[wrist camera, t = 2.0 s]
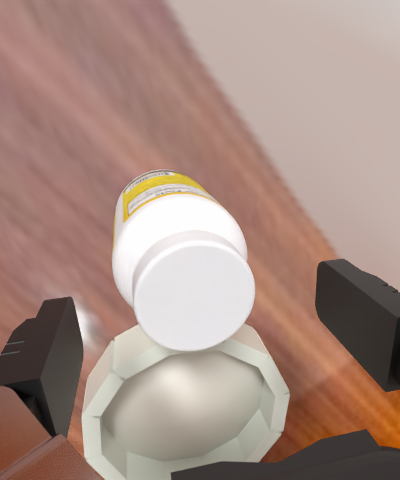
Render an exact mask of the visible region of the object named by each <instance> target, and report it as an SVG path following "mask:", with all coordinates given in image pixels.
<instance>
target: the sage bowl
mask: <svg viewBox="0 0 400 480" xmlns="http://www.w3.org/2000/svg"><path fill="white" fill-rule="evenodd" d="M289 397H290V393H289V389H288V387H287V385H286V383H285V382H284V380H283V378H282V376H281V374H280V372H279V370H278V369H277V367H276V365H275V363H274V361H273V359H272V357H271V356H270V354H269V352H268V351H267V349H266V347H265V346H264V344H263V342H262V340H261V339H260V337H259V335H258V334H257V332H256V330H254V329H253V327H251V326H249V325H247V324H245V323H244V324H243V325H242V326H241V327H240V328H239V329H238V330H237V331H236V332H235V333H234V334H233V335H232V336H231V337H229V338H228V339H227V340H225V341H223V342H222V343H220V344H218V345H215V346H213V347H210V348H207V349H204V350H198V351H177V350H173V349H169V348H166V347H164V346H161V345H160V344H158V343H156V342H155V341H153V340H152V339H151V338H149V337H148V336H147V335H146V334H145V332H144V331H143V330H142V328H141V327H140V325H139V324H138V325H136V326H134V327H132V328H131V329H129V330H127V331H125V332H123V333H121V334H120V335H118V336H116V337H115V341H113V340H111V342H110V344H109V345H108V347H107V348H106V350H105V351H104V353H103V354H102V356H101V358H100V359H99V361H98V362H97V364H96V365H95V367H94V369H93V370H92V372H91V373H90V375H89V376H88V380H87V384H86V391H85V398H84V405H83V411H82V430H83V442H84V455H85V458H87V459H86V461H87V462H88V463H89V464H90V465H91V466H92V467H93V468H94V469H95V470H96V471H97V472H98V473H99V474H100V475H101V476H102V477H103V478H104V479H105V480H171V472H175V471H180V470H184V469H189V468H193V467H198V466H202V465H207V464H211V463H216V462H221V461H231V462H259V461H260V460H261V459H262V458H263V456H264V455H265V454H266V453H267V451H268V450H269V449H270V448H271V447H272V445H273V444H274V443H275V442H276V440H277V439H278V438H279V437H280V436H281V434H282V433H281V431H283V430H284V424H285V419H286V413H287V408H288V402H289Z"/></svg>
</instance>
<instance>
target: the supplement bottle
mask: <svg viewBox="0 0 400 480" xmlns="http://www.w3.org/2000/svg"><path fill="white" fill-rule="evenodd" d="M112 269H113V276H114V280H115V283H116V286H117V288H118V290H119V292H120V294H121V295H122V297H123V298H124V299H125V301H126V302H127V303H128V304H129V305H130V306H131V307H132V308H133V309H134V312H135V316H136V319H137V321H138V323H139V325H140V327H141V328H142V330H143V331H144V332H145V334H146V335H147V336H148V337H149V338H151V339H152V340H153V341H155V342H156V343H158V344H160V345H161V346H164V347H166V348H169V349H173V350H177V351H198V350H204V349H207V348H210V347H213V346H215V345H218V344H220V343H222V342H223V341H225V340H227V339H228V338H229V337H231V336H232V335H233V334H234V333H235V332H236V331H237V330H238V329H239V328H240V327H241V326H242V325H243V324H244V322H245V321H246V319H247V317H248V316H249V314H250V312H251V309H252V306H253V303H254V298H255V283H254V278H253V274H252V272H251V269H250V267H249V266H248V264H247V248H246V242H245V239H244V236H243V233H242V231H241V229H240V227H239V226H238V224H237V223H236V221H235V220H234V219H233V217H232V216H231V215H230V214H229V213H228V212H227V210H225V209H224V208H223V207H222V206H221V205H220V204H219V203H218V202H217V201H216V200H215V199H214V198H213V197H212V196H211V195H210V194H209V193H207V192H206V191H205V190H204V189H203V188H202V187H201V186H200V185H199V184H198V183H197V182H195V181H194V180H193V179H192V178H190V177H188V176H186V175H184V174H182V173H179V172H176V171H172V170H155V171H150V172H147V173H145V174H142V175H140V176H139V177H137V178H135V179H134V180H133V181H131V182H130V183H129V184H128V185H127V186H126V188H125V189H124V190H123V192H122V193H121V195H120V197H119V199H118V202H117V206H116V210H115V218H114V233H113V249H112Z"/></svg>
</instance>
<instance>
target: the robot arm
mask: <svg viewBox="0 0 400 480" xmlns="http://www.w3.org/2000/svg"><path fill="white" fill-rule="evenodd" d="M315 306H316V311H317V314H318V317H319V319H320V320H321V322H322V323H323V324H324V325H325V326H326V327H327V328H328V329H329V330H330V332H331V333H332V334H333V335H334V336H335V337H336V338H337V339H338V340H339V341H340V343H341V344H342V345H343V346H344V347H345V348H346V349H347V350H348V351H349V352H350V354H351V355H352V356H353V357H354V358H355V359H356V360H357V361H358V362H359V363H360V365H361V366H362V367H363V368H364V369H365V370H366V371H367V372H368V373H369V374H370V376H371V377H372V378H373V379H374V380H375V381H376V382H377V383H378V384H379V385H380V387H381V388H382V389H383V390H384V391H385V392H389V391H394V390H399V389H400V292H398V290H396V289H395V288H393V287H392V286H388V284H387V283H386V282H384V281H383V280H381V279H380V278H378V277H377V276H374V275H371V274H369V273H366V272H364V271H361V270H360V269H358V268H357V267H355V266H354V265H352V264H351V263H350V262H348V261H347V260H345V259H336V260H329V261H322V262H320V263H319V265H318V268H317V283H316V300H315ZM82 362H83V342H82V337H81V332H80V328H79V323H78V319H77V314H76V310H75V305H74V302H73V299H72V297H64V298H57V299H50V300H45V301H44V302H43V304H42V306H41V308H40V310H39V312H38V314H37V316H36V318H32V319H27V320H25V321H24V322H23V323H22V324H21V325H20V326H18V327H17V328H16V329H15V330H14V331H13V333H12V334H11V336H10V338H9V340H8V342H7V345H5V347H4V349H3V351H2V352H1V356H0V480H102V479H101V478H100V477H99V476H98V475H97V474H96V472H95V471H94V470H93V469H92V468H91V467H90V465H89V464H88V463H87V462H86V461H85V460H84V458H83V457H82V456H81V455H80V454H79V453H78V452H77V450H76V449H75V448H74V447H73V446H72V445H71V443H70V442H69V441H68V440H67V435H68V430H69V425H70V420H71V415H72V410H73V406H74V401H75V396H76V391H77V386H78V381H79V377H80V372H81V367H82ZM171 480H400V449H398V448H392V447H385V446H379V445H378V444H377V443H376V441H375V440H374V439H373V437H372V436H371V435H370V433H369V432H368V431H367V429H365V430H361V431H356V432H352V433H347V434H343V435H338V436H334V437H329V438H325V439H321V440H319V441H317V442H315V443H314V444H312V445H310V446H308V447H306V448H305V449H303V450H301V451H299V452H297V453H295V454H294V455H292V456H290V457H288V458H286V459H284V460H283V461H280V462H277V463H262V462H231V461H221V462H216V463H211V464H207V465H202V466H198V467H193V468H189V469H184V470H180V471H175V472H171Z"/></svg>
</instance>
